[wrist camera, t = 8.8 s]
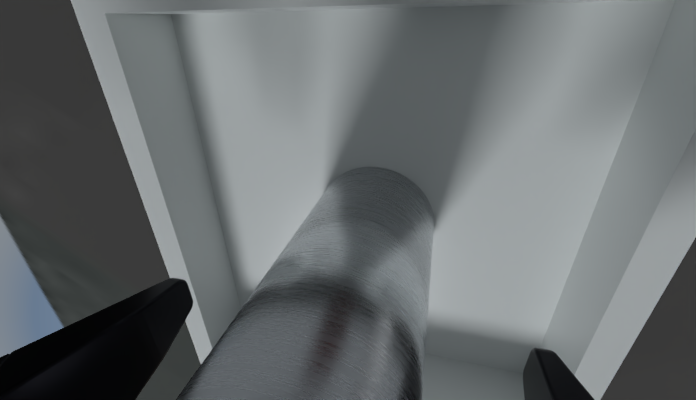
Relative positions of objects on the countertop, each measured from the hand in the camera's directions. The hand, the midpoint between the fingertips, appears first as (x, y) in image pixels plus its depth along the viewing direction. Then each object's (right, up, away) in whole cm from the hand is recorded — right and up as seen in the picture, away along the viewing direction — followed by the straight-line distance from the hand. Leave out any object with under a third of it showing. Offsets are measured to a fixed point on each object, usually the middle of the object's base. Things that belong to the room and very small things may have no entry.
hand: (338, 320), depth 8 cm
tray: (+1, +3, +5) cm, 6 cm away
